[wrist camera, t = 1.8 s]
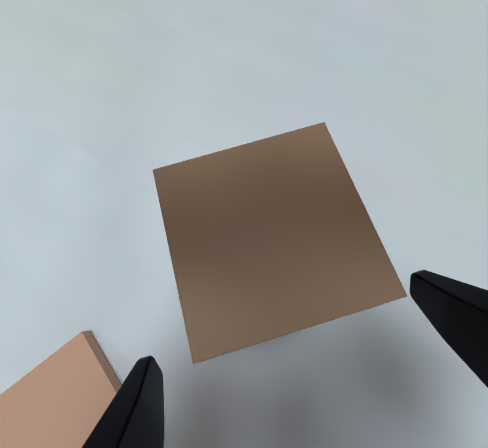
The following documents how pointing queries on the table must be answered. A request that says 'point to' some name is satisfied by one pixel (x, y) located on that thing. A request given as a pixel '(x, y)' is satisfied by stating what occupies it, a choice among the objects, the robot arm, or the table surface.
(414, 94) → the table surface
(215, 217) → the walnut block
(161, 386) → the robot arm
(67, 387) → the terracotta mat
